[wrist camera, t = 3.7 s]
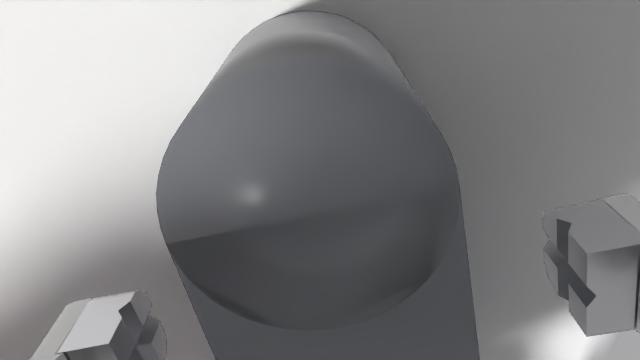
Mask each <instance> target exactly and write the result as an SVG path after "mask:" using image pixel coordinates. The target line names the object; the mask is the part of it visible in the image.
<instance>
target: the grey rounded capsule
mask: <svg viewBox="0 0 640 360" xmlns="http://www.w3.org/2000/svg"><path fill="white" fill-rule="evenodd" d="M156 198H157V213H158V218H159V223H160V228H161V231H162V234H163V237H164V240H165V243H166V245H167V247H168V250H169V252H170V254H171V257H172V259H173V261H174V264H175V266H176V268H177V271H178V273H179V275H180V278H181V280H182V282H183V285H184V287H185V289H186V292H187V294H188V296H189V298H190V301H191V303H192V305H193V308H194V310H195V312H196V315H197V317H198V319H199V322H200V324H201V326H202V329H203V331H204V333H205V336H206V338H207V340H208V343H209V345H210V347H211V349H212V352H213V354H214V356H215V359H216V360H480V358H479V349H478V341H477V332H476V324H475V315H474V307H473V298H472V290H471V281H470V272H469V264H468V255H467V247H466V238H465V230H464V221H463V213H462V204H461V196H460V187H459V181H458V176H457V171H456V166H455V163H454V161H453V158H452V155H451V152H450V150H449V148H448V146H447V144H446V142H445V140H444V138H443V137H442V135H441V133H440V131H439V130H438V128H437V127H436V125H435V123H434V122H433V120H432V119H431V117H430V116H429V114H428V112H427V111H426V109H425V108H424V106H423V105H422V103H421V102H420V100H419V98H418V97H417V95H416V94H415V92H414V91H413V89H412V87H411V86H410V84H409V83H408V81H407V80H406V78H405V76H404V75H403V73H402V72H401V70H400V69H399V67H398V65H397V64H396V62H395V61H394V59H393V58H392V56H391V54H390V53H389V52H388V50H387V49H386V48H385V46H384V45H383V44H382V43H381V42H380V41H379V40H378V39H377V38H376V37H375V36H374V35H373V34H372V33H371V32H369V31H368V30H367V29H366V28H364V27H363V26H361V25H359V24H357V23H356V22H354V21H352V20H350V19H347V18H345V17H342V16H340V15H336V14H332V13H328V12H320V11H298V12H293V13H287V14H284V15H280V16H277V17H274V18H272V19H270V20H268V21H266V22H264V23H262V24H260V25H259V26H257V27H256V28H254V29H253V30H251V31H250V32H249V33H248V34H247V35H245V36H244V37H243V38H242V39H241V40H240V41H239V43H238V44H237V45H236V46H235V47H234V48H233V50H232V51H231V53H230V54H229V56H228V57H227V59H226V60H225V61H224V63H223V64H222V66H221V67H220V69H219V70H218V72H217V73H216V74H215V76H214V77H213V79H212V80H211V82H210V83H209V85H208V86H207V88H206V89H205V90H204V92H203V93H202V95H201V96H200V98H199V99H198V101H197V102H196V104H195V105H194V106H193V108H192V109H191V111H190V112H189V114H188V115H187V117H186V118H185V119H184V121H183V122H182V124H181V125H180V127H179V128H178V130H177V132H176V133H175V135H174V136H173V138H172V139H171V141H170V143H169V146H168V148H167V150H166V152H165V155H164V157H163V160H162V164H161V167H160V171H159V175H158V183H157V192H156Z"/></svg>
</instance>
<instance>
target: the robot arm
mask: <svg viewBox="0 0 640 360" xmlns="http://www.w3.org/2000/svg"><path fill="white" fill-rule="evenodd" d="M542 220H543V231H544V232H545V233H546V235H547V236H548V237H549V239H550V240H549V241H548V243H547V244H546V246H545V247H544V249H543V250H544V263H545V267H546V271H547V275H548V278H549V280H550V282H551V284H552V286H553V288H554V290H555V291H556V293H557V294H558V295H559V296H561V297H563V298H565V299H567V300H569V312H570V313H571V315H572V316H573V318H574V319H575V321H576V322H577V324H578V325H579V326H580V328H581V329H582V331H583V332H584V334H585V335H586V337H588V336H595V335H602V334H608V333H615V332H622V331H628V330H635V329H636V332H638V333H639V334H640V202H639V201H638V200H637V199H636V198H634V197H633V196H632V195H630V194H626V193H622V194H618V195H614V196H609V197H605V198H601V199H597V200H594V201H589V202H584V203H580V204H575V205H570V206H566V207H561V208H556V209H552V210H547V211H544V214H543V218H542ZM151 307H152V303H151V302H150V300H149V298H148V296H147V294H146V292H144V291H141V290H134V291H129V292H123V293H117V294H111V295H106V296H100V297H95V298H88V299H83V300H79V301H74V302H71V303H69V304H67V305H66V306H65V308H64V309H63V311H62V312H61V314H60V315H59V317H58V318H57V320H56V321H55V323H54V324H53V326H52V327H51V329H50V330H49V332H48V333H47V335H46V336H45V338H44V339H43V341H42V342H41V344H40V345H39V346H38V348H37V349H36V351H35V352H34V354H33V355H32V357H31V358H30V359H28V360H165V358H166V353H167V340H166V336H165V331H164V329H163V327H162V324H161V322H160V321H159V320H157V319H156V318H154V317H152V316H151V315H149V313H150V310H151Z"/></svg>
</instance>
